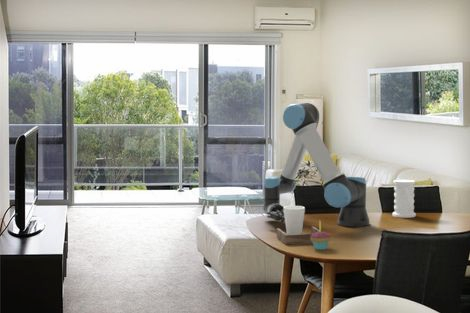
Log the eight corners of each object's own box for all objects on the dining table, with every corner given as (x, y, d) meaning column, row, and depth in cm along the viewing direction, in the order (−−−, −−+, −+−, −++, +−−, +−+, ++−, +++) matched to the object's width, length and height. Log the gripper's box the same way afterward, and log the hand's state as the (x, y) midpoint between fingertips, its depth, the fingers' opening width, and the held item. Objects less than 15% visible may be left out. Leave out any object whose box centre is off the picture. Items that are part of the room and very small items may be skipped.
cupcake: (308, 246, 309) (308, 218, 308) (328, 246, 310) (328, 217, 309) (312, 251, 301) (312, 221, 300) (333, 250, 302) (333, 221, 300)
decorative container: (392, 217, 375) (392, 182, 374) (392, 213, 387) (392, 179, 385) (415, 218, 373) (416, 182, 371) (415, 214, 384) (415, 179, 382)
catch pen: (276, 237, 329) (276, 228, 329) (313, 235, 333) (313, 226, 332) (285, 244, 314) (285, 235, 313) (324, 242, 317) (324, 233, 316)
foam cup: (279, 236, 330) (279, 207, 329) (291, 233, 337) (290, 205, 336) (297, 239, 324) (297, 209, 323) (308, 235, 332) (308, 207, 330)
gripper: (289, 218, 359) (302, 227, 336) (263, 220, 357) (274, 229, 334) (289, 203, 359) (302, 211, 336) (263, 204, 356) (274, 212, 333)
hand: (288, 220), depth 335 cm, fingers closed
